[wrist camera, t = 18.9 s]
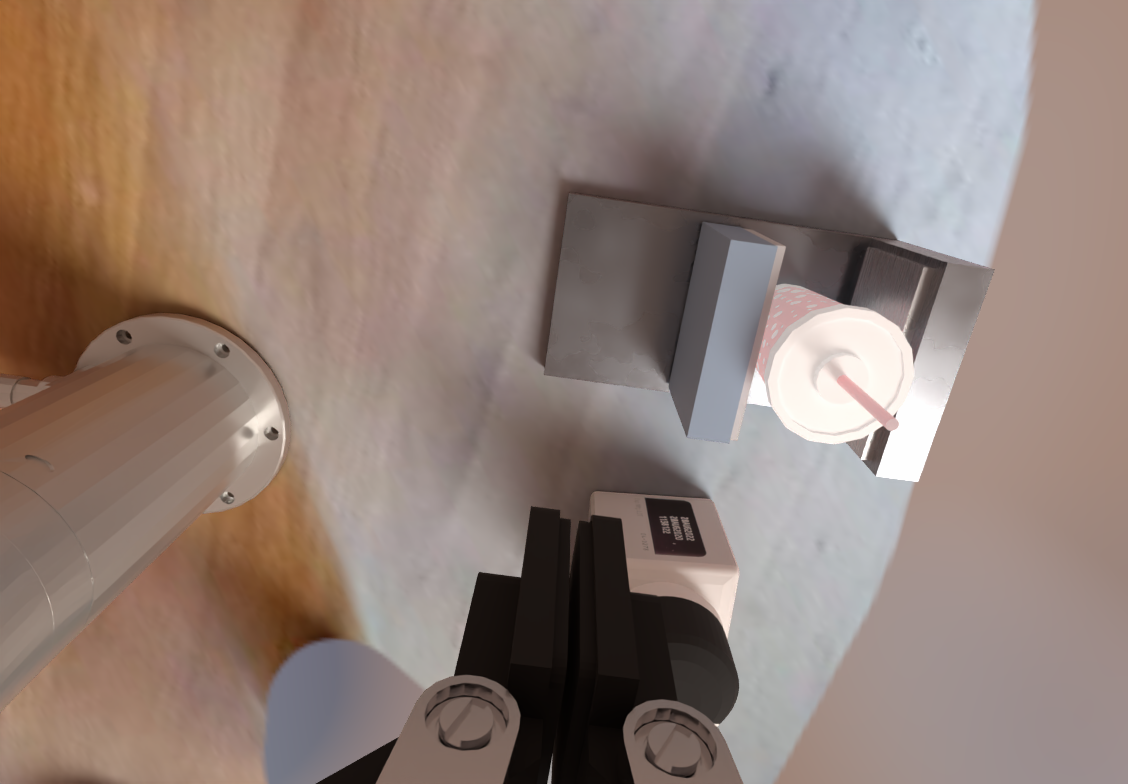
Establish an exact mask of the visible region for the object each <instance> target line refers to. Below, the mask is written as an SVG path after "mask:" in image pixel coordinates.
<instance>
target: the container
mask: <svg viewBox="0 0 1128 784" xmlns="http://www.w3.org/2000/svg"><path fill="white" fill-rule="evenodd" d="M592 515H599V516H607V517H614V518H621V519H622V526H623V535H624V544H625V552H626V561H627V570H628V579H629V588H630V592H635V593H643V594H650V595H657V596H658V597H659V600H660V603H661V609H662V615H663V620H664V626H665V632H666V637H667V643H668V649H669V654H670V660H671V666H672V671H673V677H674V683H675V688H676V694H677V700H678V702H680V703H683V704H685V705H688V706H691V707H693V708H694V709H696V710H698V711H699V712H701V713H702V714H704V715H705V716H707V717H708V718H709V719H710V720H711V721H712V722H713V723H714V724H715V725H716V726H718V725H719V724H720V723H721V722H722V721H723V720H724V719H725V718H726V717H727V715H728V714H729V713H730V711H731V710H732V708H733V706H734V704H735V702H736V700H737V696H738V691H739V679H738V675H737V671H736V667H735V664H734V661H733V657H732V654H731V651H730V647H729V644H728V641H727V638H728V633H729V628H730V622H731V617H732V611H733V606H734V600H735V595H736V590H737V584H738V579H739V568H738V565H737V562H736V560H735V557H734V554H733V552H732V549H731V546H730V544H729V541H728V538H727V536H726V533H725V530H724V528H723V525H722V522H721V520H720V517H719V514H718V512H717V509H716V506H715V504H714V502H713V501H712V500H710V499H703V498H688V497H674V496H659V495H645V494H630V493H616V492H601V491H596V492H593V493H592V495H591V497H590V508H589V519H588V522H590V519H591V516H592Z"/></svg>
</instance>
